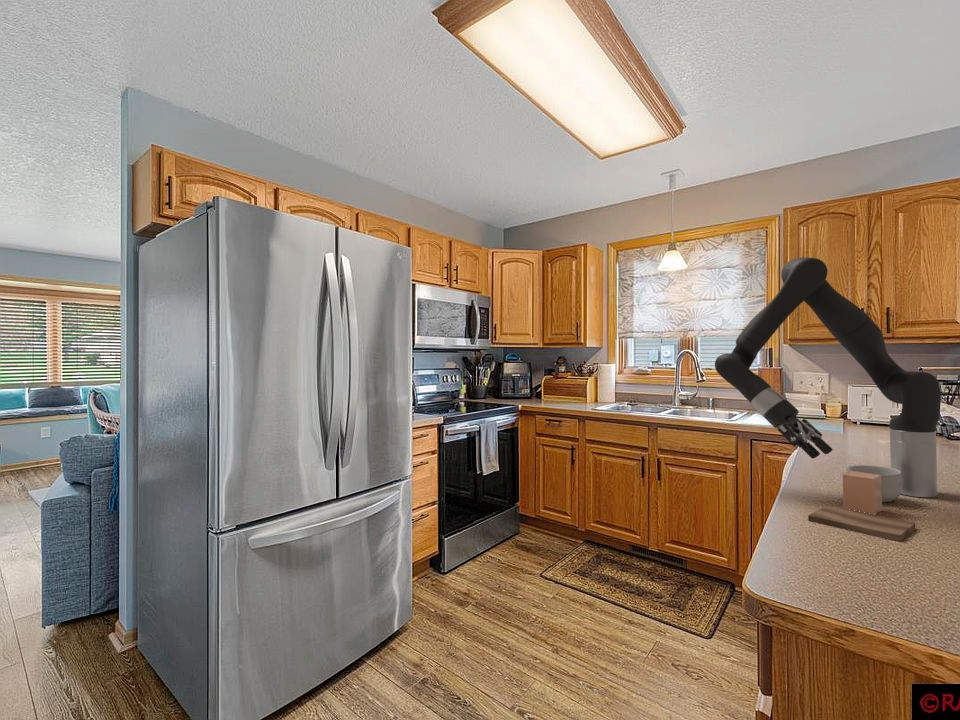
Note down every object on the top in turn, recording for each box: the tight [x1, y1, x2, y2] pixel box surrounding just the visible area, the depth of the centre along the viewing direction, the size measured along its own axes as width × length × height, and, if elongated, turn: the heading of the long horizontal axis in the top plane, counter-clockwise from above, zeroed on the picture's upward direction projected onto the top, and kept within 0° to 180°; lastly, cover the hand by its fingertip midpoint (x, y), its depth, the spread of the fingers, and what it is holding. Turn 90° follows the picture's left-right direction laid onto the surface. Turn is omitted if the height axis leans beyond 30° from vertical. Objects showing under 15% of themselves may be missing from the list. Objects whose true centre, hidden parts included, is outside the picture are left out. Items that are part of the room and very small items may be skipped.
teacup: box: [846, 463, 902, 503], centre depth 124 cm, size 14×11×8 cm
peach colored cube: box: [842, 471, 883, 515], centre depth 114 cm, size 6×6×8 cm
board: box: [807, 504, 916, 542], centre depth 104 cm, size 12×16×1 cm
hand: (823, 454), depth 120 cm, fingers open, 8 cm apart
